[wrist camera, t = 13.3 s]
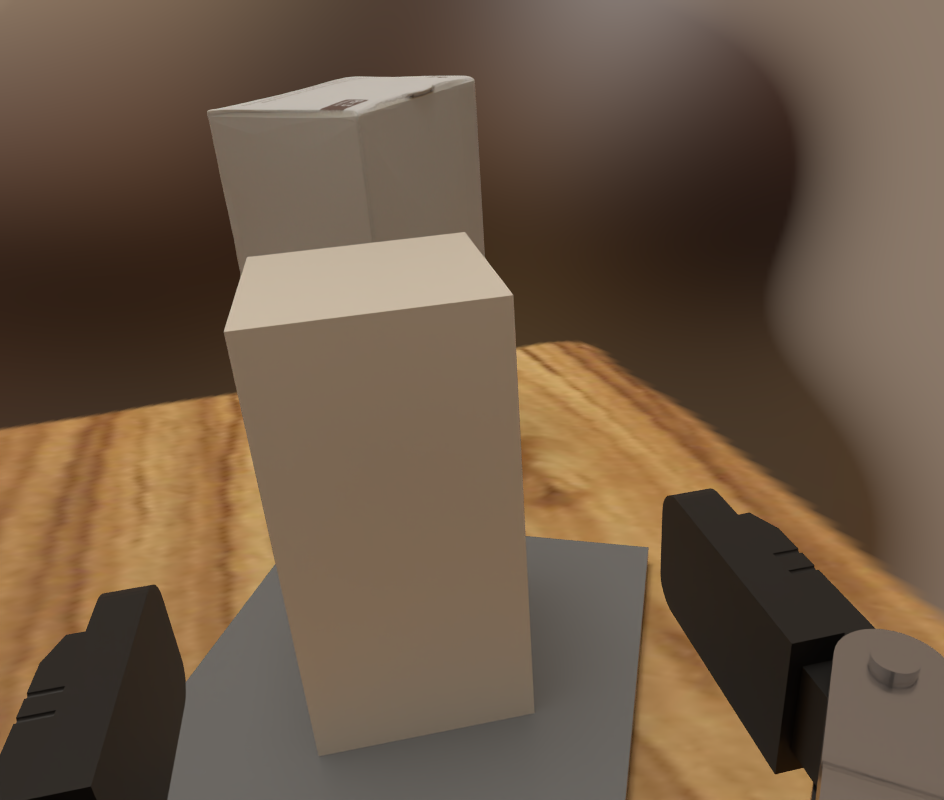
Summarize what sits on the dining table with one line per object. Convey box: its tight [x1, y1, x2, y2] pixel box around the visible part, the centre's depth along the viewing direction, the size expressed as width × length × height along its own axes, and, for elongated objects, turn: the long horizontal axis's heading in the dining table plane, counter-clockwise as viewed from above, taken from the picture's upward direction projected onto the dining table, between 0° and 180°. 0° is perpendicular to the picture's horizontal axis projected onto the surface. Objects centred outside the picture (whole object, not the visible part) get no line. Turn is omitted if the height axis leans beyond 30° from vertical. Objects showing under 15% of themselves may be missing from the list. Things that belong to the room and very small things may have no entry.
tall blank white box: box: [224, 232, 535, 756], centre depth 19 cm, size 5×5×11 cm
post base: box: [167, 536, 648, 800], centre depth 20 cm, size 12×12×8 cm
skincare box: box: [207, 76, 485, 275], centre depth 29 cm, size 8×6×15 cm
